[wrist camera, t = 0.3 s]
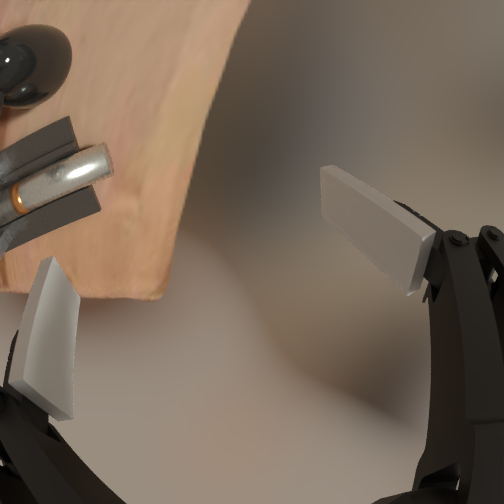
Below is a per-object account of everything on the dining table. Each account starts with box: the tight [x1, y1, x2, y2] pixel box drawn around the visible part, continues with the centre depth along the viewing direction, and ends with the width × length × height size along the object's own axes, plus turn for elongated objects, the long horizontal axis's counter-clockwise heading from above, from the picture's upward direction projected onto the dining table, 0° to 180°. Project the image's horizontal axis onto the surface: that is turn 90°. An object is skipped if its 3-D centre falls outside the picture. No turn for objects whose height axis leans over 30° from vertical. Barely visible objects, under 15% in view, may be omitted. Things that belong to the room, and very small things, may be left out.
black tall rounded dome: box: [0, 24, 72, 116], centre depth 17 cm, size 10×10×15 cm
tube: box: [0, 142, 114, 226], centre depth 29 cm, size 18×4×4 cm, turn 98°
